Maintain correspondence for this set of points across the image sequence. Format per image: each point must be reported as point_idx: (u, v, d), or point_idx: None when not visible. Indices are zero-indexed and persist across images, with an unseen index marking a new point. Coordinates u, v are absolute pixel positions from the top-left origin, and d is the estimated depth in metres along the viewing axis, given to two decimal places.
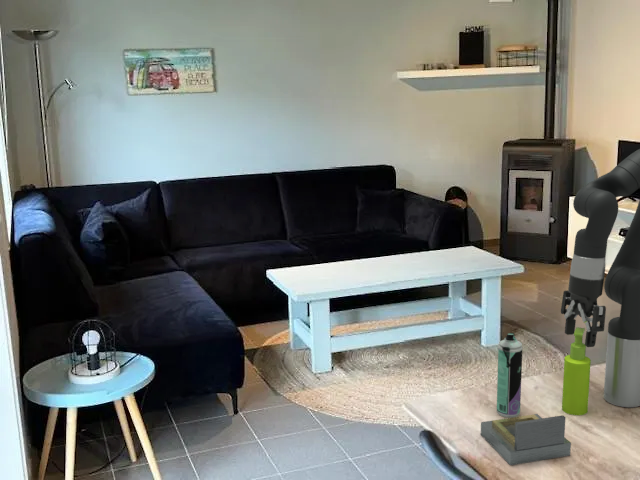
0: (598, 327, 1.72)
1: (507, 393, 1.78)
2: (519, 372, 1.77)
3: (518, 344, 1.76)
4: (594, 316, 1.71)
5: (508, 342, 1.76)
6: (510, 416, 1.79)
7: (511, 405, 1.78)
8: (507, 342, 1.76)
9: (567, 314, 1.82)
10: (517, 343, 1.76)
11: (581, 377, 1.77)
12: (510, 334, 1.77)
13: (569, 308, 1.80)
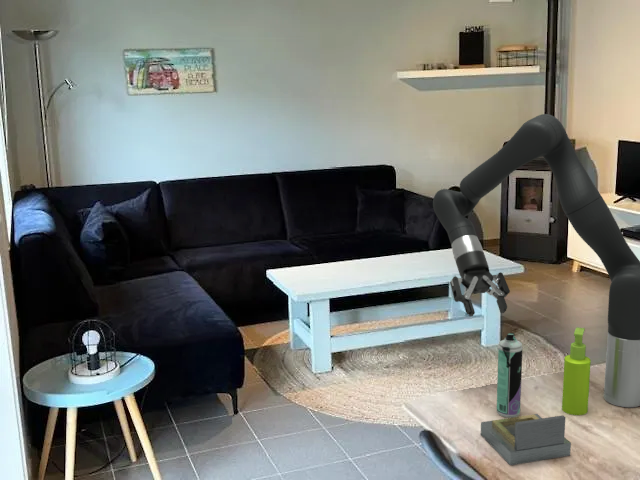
0: (456, 296, 1.88)
1: (507, 393, 1.78)
2: (519, 372, 1.77)
3: (518, 344, 1.76)
4: None
5: (508, 342, 1.76)
6: (510, 416, 1.79)
7: (511, 405, 1.78)
8: (507, 342, 1.76)
9: None
10: (517, 343, 1.76)
11: (581, 377, 1.77)
12: (510, 334, 1.77)
13: None
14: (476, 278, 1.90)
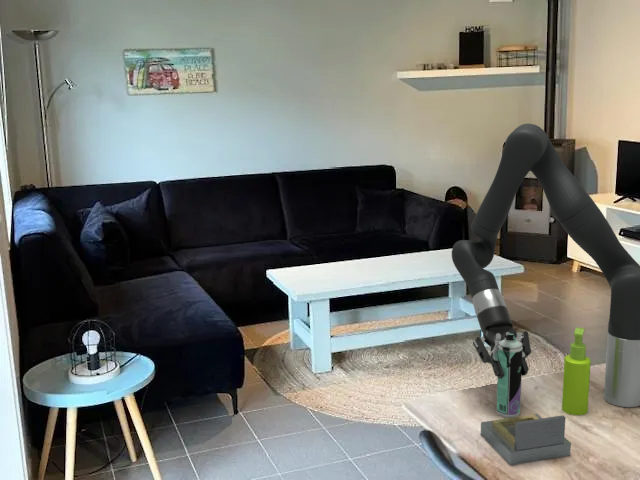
0: (484, 357, 1.79)
1: (507, 393, 1.78)
2: (519, 372, 1.77)
3: (518, 344, 1.76)
4: None
5: (508, 342, 1.76)
6: (510, 416, 1.79)
7: (512, 405, 1.78)
8: (507, 342, 1.76)
9: None
10: (517, 343, 1.76)
11: (581, 377, 1.77)
12: (510, 334, 1.77)
13: None
14: (499, 335, 1.80)
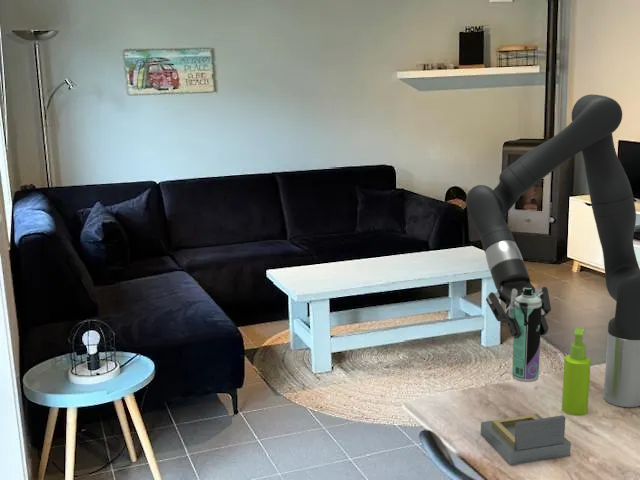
0: (498, 314, 1.61)
1: (524, 354, 1.59)
2: (538, 331, 1.59)
3: (537, 299, 1.58)
4: None
5: (526, 297, 1.58)
6: (528, 380, 1.61)
7: (529, 368, 1.60)
8: (525, 297, 1.58)
9: None
10: (536, 298, 1.58)
11: (581, 377, 1.77)
12: (528, 289, 1.58)
13: None
14: (515, 291, 1.62)
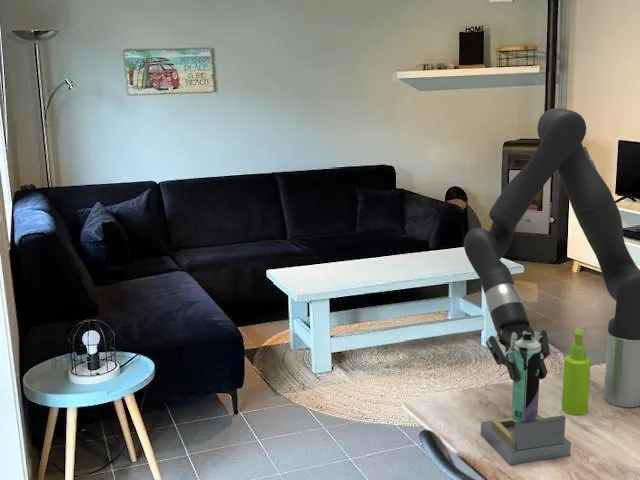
0: (498, 358, 1.63)
1: (523, 398, 1.61)
2: (538, 375, 1.61)
3: (536, 344, 1.60)
4: None
5: (525, 342, 1.60)
6: None
7: (528, 412, 1.62)
8: (524, 342, 1.60)
9: None
10: (535, 343, 1.60)
11: (581, 377, 1.77)
12: (528, 333, 1.60)
13: None
14: (515, 334, 1.64)
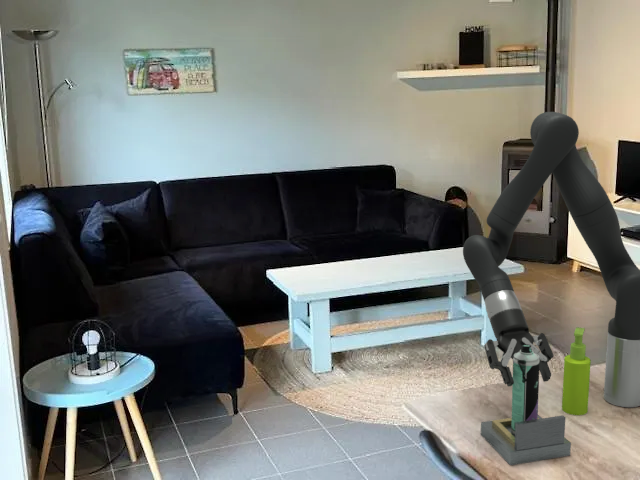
0: (492, 362, 1.63)
1: (522, 410, 1.62)
2: (536, 387, 1.62)
3: (535, 357, 1.61)
4: None
5: (524, 354, 1.61)
6: None
7: None
8: (523, 354, 1.61)
9: None
10: (534, 356, 1.61)
11: (581, 377, 1.77)
12: (526, 346, 1.61)
13: None
14: (514, 341, 1.64)
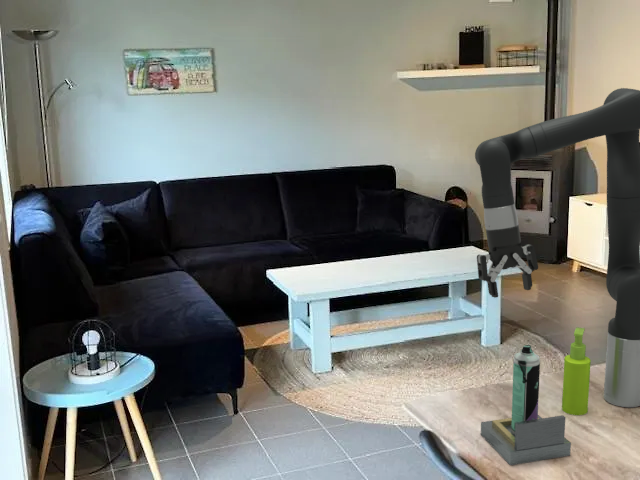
0: (481, 276, 1.75)
1: (523, 410, 1.62)
2: (537, 388, 1.61)
3: (535, 357, 1.60)
4: None
5: (524, 355, 1.60)
6: None
7: None
8: (523, 355, 1.61)
9: None
10: (534, 356, 1.60)
11: (581, 377, 1.77)
12: (526, 346, 1.61)
13: None
14: (506, 257, 1.74)
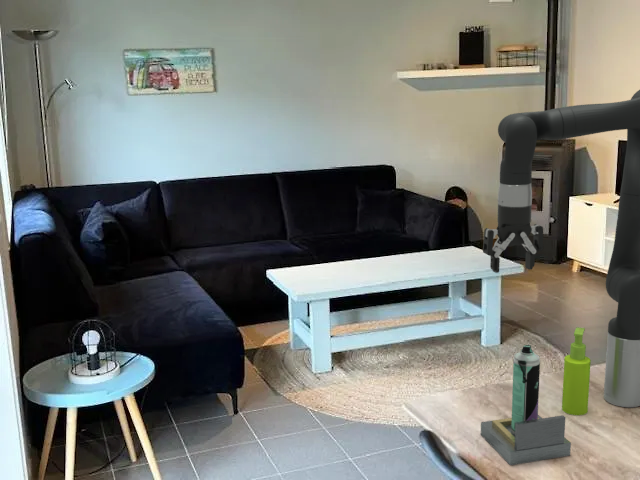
0: (486, 249, 1.75)
1: (523, 410, 1.62)
2: (537, 388, 1.61)
3: (535, 357, 1.60)
4: None
5: (524, 355, 1.60)
6: None
7: None
8: (523, 355, 1.61)
9: None
10: (534, 356, 1.61)
11: (581, 377, 1.77)
12: (526, 346, 1.61)
13: None
14: (513, 235, 1.74)
